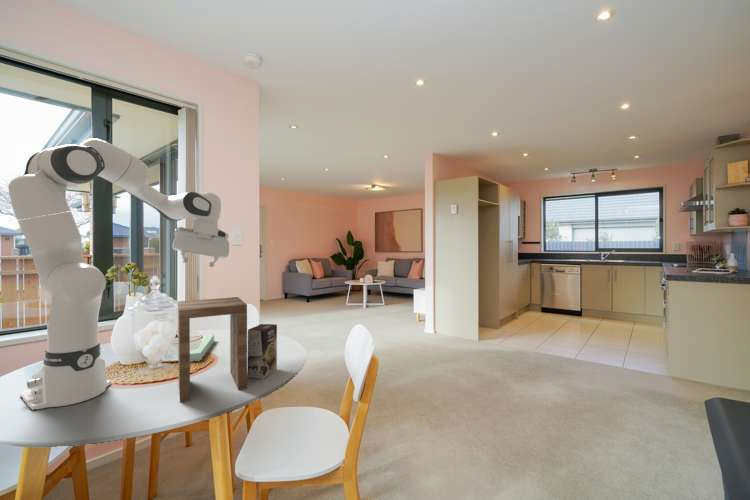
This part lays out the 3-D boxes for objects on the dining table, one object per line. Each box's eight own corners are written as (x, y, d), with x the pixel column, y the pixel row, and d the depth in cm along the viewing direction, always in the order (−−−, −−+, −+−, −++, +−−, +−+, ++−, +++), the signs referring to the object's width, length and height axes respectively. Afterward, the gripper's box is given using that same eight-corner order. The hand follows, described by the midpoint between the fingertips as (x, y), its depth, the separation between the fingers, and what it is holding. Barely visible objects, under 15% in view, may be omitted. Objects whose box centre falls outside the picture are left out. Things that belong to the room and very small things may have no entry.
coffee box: (264, 379, 112) (264, 330, 112) (246, 377, 113) (246, 329, 113) (277, 369, 121) (277, 324, 120) (261, 367, 122) (261, 323, 122)
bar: (204, 342, 152) (204, 335, 152) (214, 342, 153) (214, 334, 153) (188, 363, 127) (188, 353, 127) (200, 362, 128) (200, 353, 128)
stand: (178, 381, 109) (178, 301, 109) (238, 371, 119) (237, 297, 118) (179, 402, 96) (179, 310, 95) (247, 388, 105) (247, 304, 104)
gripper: (176, 223, 129) (168, 258, 125) (232, 235, 140) (227, 267, 136) (174, 228, 134) (167, 261, 130) (229, 239, 145) (223, 270, 141)
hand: (198, 265), depth 133 cm, fingers open, 8 cm apart
